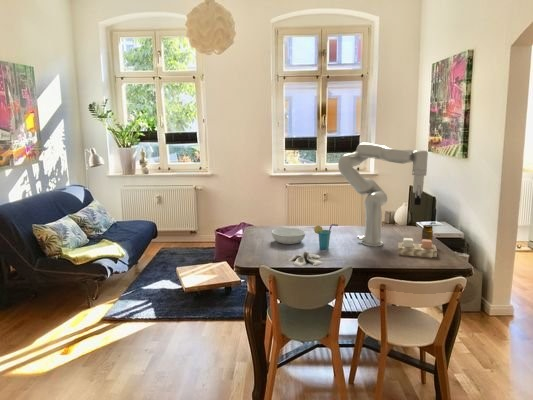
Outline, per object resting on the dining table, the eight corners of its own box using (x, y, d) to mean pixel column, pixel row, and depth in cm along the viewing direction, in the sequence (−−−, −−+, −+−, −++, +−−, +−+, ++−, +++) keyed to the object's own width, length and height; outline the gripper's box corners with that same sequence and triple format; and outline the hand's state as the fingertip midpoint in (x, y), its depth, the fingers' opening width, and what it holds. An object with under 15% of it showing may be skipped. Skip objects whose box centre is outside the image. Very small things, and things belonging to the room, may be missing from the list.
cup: (335, 246, 252) (335, 222, 250) (338, 250, 245) (339, 225, 242) (312, 247, 251) (312, 222, 248) (315, 251, 243) (316, 225, 240)
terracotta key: (421, 252, 236) (422, 241, 235) (421, 249, 241) (421, 239, 239) (431, 252, 234) (432, 242, 233) (430, 250, 239) (431, 239, 238)
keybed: (398, 254, 236) (398, 247, 236) (398, 248, 248) (398, 242, 247) (436, 257, 231) (437, 250, 230) (434, 251, 242) (435, 244, 241)
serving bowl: (293, 249, 247) (293, 237, 246) (264, 243, 260) (264, 232, 259) (311, 241, 264) (311, 230, 262) (284, 236, 276) (284, 226, 275)
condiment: (435, 245, 255) (436, 226, 253) (426, 247, 250) (427, 228, 248) (424, 242, 261) (426, 223, 259) (415, 244, 256) (417, 225, 254)
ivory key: (403, 250, 239) (403, 239, 238) (402, 248, 243) (403, 237, 242) (412, 251, 237) (413, 240, 236) (412, 248, 242) (412, 238, 241)
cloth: (317, 255, 238) (318, 244, 237) (328, 265, 220) (329, 254, 219) (279, 257, 234) (279, 246, 232) (287, 268, 216) (287, 257, 215)
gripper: (411, 170, 244) (409, 202, 247) (412, 173, 230) (410, 206, 233) (425, 171, 242) (423, 202, 245) (427, 174, 228) (425, 207, 231)
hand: (417, 204), depth 239 cm, fingers closed
